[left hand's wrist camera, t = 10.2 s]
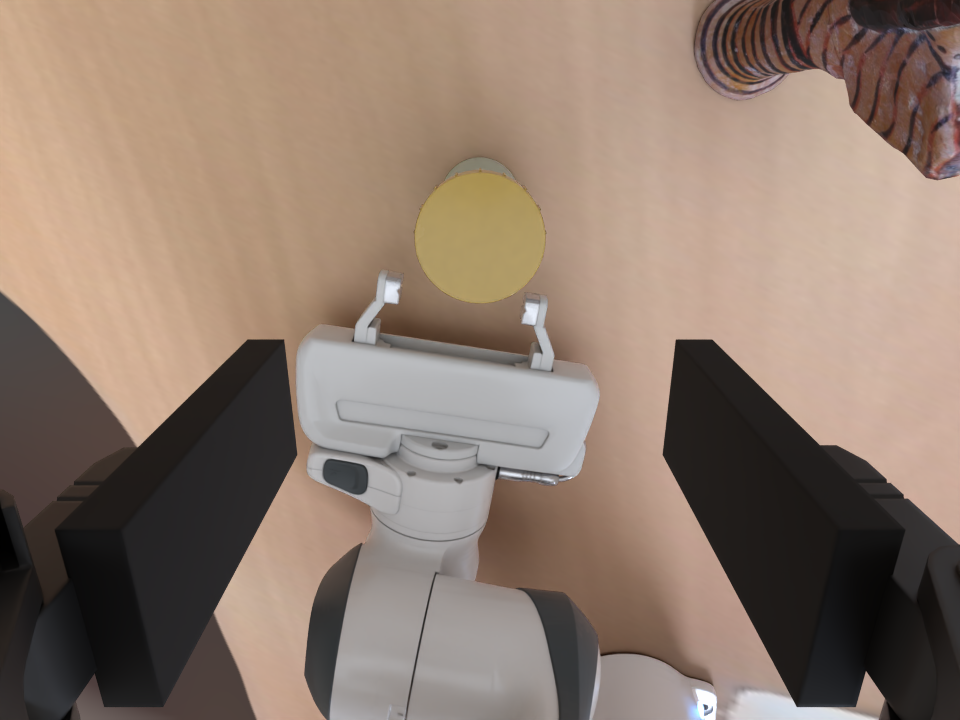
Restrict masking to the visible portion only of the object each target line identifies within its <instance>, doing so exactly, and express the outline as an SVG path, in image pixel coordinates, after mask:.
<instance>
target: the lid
mask: <svg viewBox="0 0 960 720" xmlns="http://www.w3.org/2000/svg"><path fill="white" fill-rule="evenodd" d="M420 210H421V211H420V213H419V216H418V219H417V222H416V227H415V230H414V233H415V249H416V254H417V257H418V260H419V263H420V265H421V267H422V269H423V271H424V273H425V274H426V276H427V277H428V278H429V279H430V281H431V282H432V283H433V284H434V285H435V286H436V287H437V288H438V289H440V290H441V291H442V292H444V293H445V294H447V295H449V296H451V297H453V298H455V299H458V300H461V301H464V302H469V303H491V302H496V301H499V300H502V299H505V298H507V297H509V296H511V295H513V294H515V293H516V292H518V291H519V290H520V289H522V288H523V287H524V286H525V285H526V284H527V283H528V282H529V281H530V280H531V278H532V277H533V276H534V274H535V273H536V271H537V269H538V267H539V265H540V263H541V260H542V258H543V254H544V249H545V234H546V231H545V227H544V222H543V219H542V216H541V213H540V210H541V209H540V207H539V206H538V205H536V203H535V202H534V200H533V198H532V197H531V196H530V194H529V193H528V192H527V189H526V187H525V186H524V185H523V186H522V185H520V184H519V183H518V182H517V181H515V180H514V179H512V178H510V177H509V176H507V175H506V174H505V173H504V172H503V174H502V173H499V172H495V171H491V170H482V169H481V168H479V170H470V171H465V172H461V173H458V172H456V173H455V175H454V176H451V177H450V178H448V179H446V180H445V181H443V182H442V183H441V184H440V185H438V186H437V185H436V186H435V187H434V191H433V192H432V193H431V194H430V196H429V197H428V198H427V200H426V202H425V203H424V205H423V204H422V205H421V207H420Z"/></svg>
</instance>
